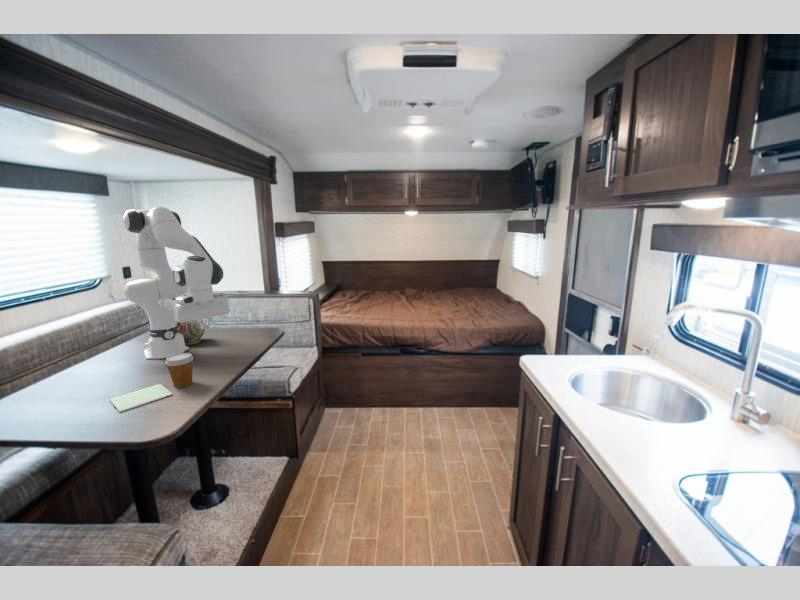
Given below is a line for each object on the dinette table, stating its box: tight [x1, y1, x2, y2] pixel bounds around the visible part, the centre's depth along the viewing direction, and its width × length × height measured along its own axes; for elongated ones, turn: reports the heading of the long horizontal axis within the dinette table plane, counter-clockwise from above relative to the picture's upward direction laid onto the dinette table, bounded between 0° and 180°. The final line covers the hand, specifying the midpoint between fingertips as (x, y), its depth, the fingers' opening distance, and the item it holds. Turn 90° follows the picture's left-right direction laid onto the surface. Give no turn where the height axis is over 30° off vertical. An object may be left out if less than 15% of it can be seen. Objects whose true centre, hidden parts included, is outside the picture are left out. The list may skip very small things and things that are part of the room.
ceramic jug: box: [171, 299, 205, 346], centre depth 184 cm, size 17×15×30 cm
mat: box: [108, 383, 174, 414], centre depth 125 cm, size 14×16×1 cm
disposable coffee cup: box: [164, 352, 194, 389], centre depth 135 cm, size 10×10×12 cm
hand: (205, 328), depth 140 cm, fingers closed
